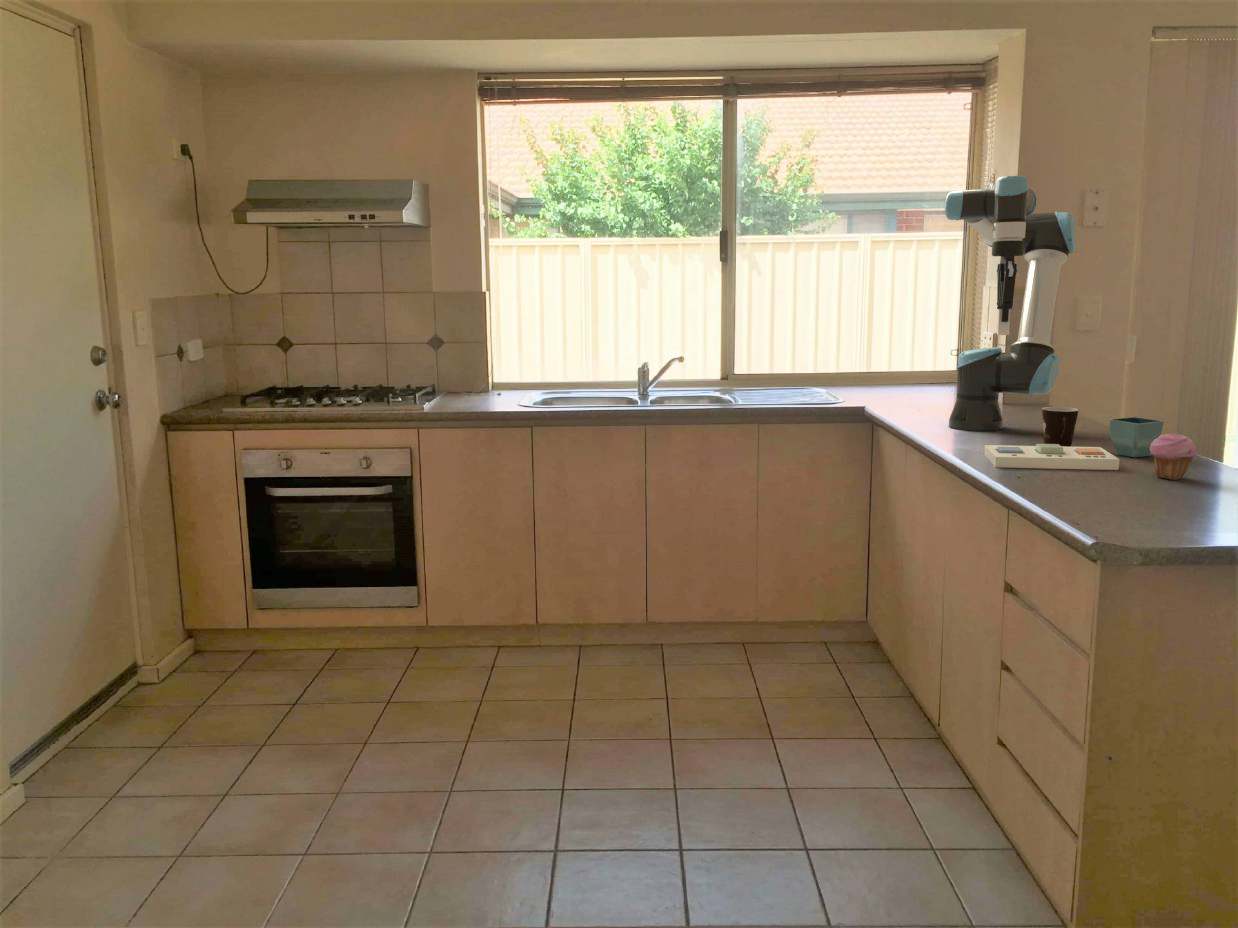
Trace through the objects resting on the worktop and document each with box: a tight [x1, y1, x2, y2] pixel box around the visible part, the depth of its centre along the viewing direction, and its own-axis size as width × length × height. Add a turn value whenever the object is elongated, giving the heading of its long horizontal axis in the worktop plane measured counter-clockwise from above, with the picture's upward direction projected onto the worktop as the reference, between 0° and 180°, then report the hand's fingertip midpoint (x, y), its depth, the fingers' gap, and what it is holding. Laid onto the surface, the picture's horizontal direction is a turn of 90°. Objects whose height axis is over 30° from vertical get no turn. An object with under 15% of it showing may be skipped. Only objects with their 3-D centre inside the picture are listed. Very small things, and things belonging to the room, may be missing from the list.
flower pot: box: [1108, 416, 1165, 459], centre depth 242 cm, size 9×9×9 cm
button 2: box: [1035, 443, 1063, 454], centre depth 236 cm, size 5×5×3 cm
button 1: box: [997, 447, 1023, 454], centre depth 238 cm, size 5×5×3 cm
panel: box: [983, 444, 1120, 471], centre depth 237 cm, size 16×27×3 cm, turn 79°
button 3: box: [1075, 448, 1104, 455], centre depth 235 cm, size 5×5×3 cm
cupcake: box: [1150, 433, 1197, 481], centre depth 216 cm, size 9×9×10 cm
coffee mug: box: [1041, 406, 1079, 447], centre depth 254 cm, size 12×9×10 cm
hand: (1002, 334), depth 250 cm, fingers closed
